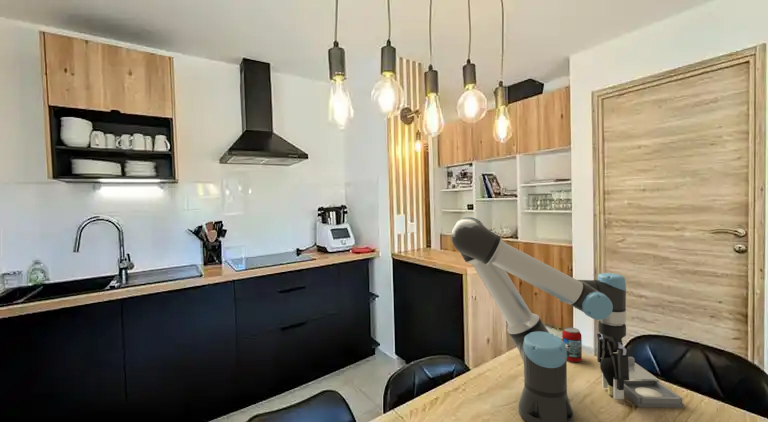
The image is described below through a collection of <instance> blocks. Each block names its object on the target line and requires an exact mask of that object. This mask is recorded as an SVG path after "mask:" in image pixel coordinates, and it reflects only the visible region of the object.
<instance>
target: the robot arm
mask: <svg viewBox="0 0 768 422" xmlns="http://www.w3.org/2000/svg"><path fill="white" fill-rule="evenodd" d="M450 237H451V239H450V240H451V242H452V245H453V247H454V248H455V250H457V252H459V253H460V255H461V256H462V258H463V260H464V262H465V263H467V264H471V265H472V266H473V268H474V269H475V271H476V273H477V275H478V277H479V278H480V279H481V281H482V283H483V285H484V286H485V288H486V290H487V291H488V293H489V295H490V297H491V298H492V299H493V302H494V303H495V304H496V306H497V308H498V309H499V311H500V313H501V315H502V316H503V317H504V319H505V322H507V325H508V326H507V330H506V331H507V333H508V335H509V336H510V338H511V341H513V343H514V345H515V346H516V348H517V350H518V352H519V355H520V356H521V357H520V358H521V360H522V362H523V377H524V378H523V379H524V380H523V383H524V384H523V385H524V386H523V390H522V393H521V395H520V398H519V401H518V413H519V416H520V417H521V418H522V420H524V421H525V422H575V413H574V411H573V410H574V409H573V408H572V405H571V402H570V399H569V396H568V376H567V375H568V374H567V373H568V372H567V371H568V370H567V369H568V368H567V367H568V366H567V351H566V346H565V343H564V342H563V340H562V338H561V337H559V335H554V334H553V333H550V331H549V330H548V328H547V327H546V326H545V324H544V322H543V321H542V319H541V317H540V316H539V315H538V314H537V313H533V312H532V311H531V310H530V309H529V307H528V305H527V304H526V302H525V300H524V298H523V296H522V295H521V294H520V292H519V290H518V289H517V287H516V285H515V283H514V282H513V281H512V279H511V277H510V275H513V276H514V277H516V278H518V279H520V280H522V281H524V282H526V283H528V284H529V285H531V286H533V287H535V288H538V289H539V290H540V291H544V293H547V294H549V295H551V296H553V297H554V298H556V299H558V300H559V301H560V302H561V303H566V304H567V305H569V306H572V307H573V308H575V309H577V310H578V311H580V312H582V313H583V314H585V316H587V317H589V318H591V319H593V320H597V321H598V322H597V323H598V326H597V327H598V333H596V336H597V363H599V365H600V364H601V361H602V360H603V359H604V358H608V357H610V358H611V357H612V361H613V367H614V373H615V377H613V395H614V396H613V399H614V400H625V395H624V380H629V365H628V357H629V354H630V349H629V348H628V347H627V348H626V347H624V346H623V345H624V344H623V338H625V337H626V336H627V325H626V323H627V319H626V318H627V311H626V310H627V307H626V304H627V303H626V302H627V301H626V300H627V285H626V284H627V283H626V278H625V276H623V275H622V274H620V273H619V274H618V273H614V272H613V273H612V272H604V273H603V272H602V273H598V276H597V278H596V279H577V278H576V279H575V278H574V277H572V276H570V275H567V274H566V273H564V272H562V271H560V270H559V269H557V268H555V267H553V266H550V265H548V264H546V262H543V261H542V260H539V259H537V258H536V257H534V256H531V255H529V254H527V253H526V252H524V251H521V250H520V249H517V247H516V248H515V247H514V246H512V245H510V244H508V243H506V242H505V241H504V240H503V238H502V236H500V235H497V234H496V233H494V232H493V231H491V230H490V229H488V228H487V227H486V226H485V225H484V224H483V222H481V221H480V220H479V219H477V218H475V217H470V216H468V217H466V216H465V217H463V218H460V219H459V220H458V221H456V222H455V223H454V224H453V226H452V228H451V236H450ZM508 273H509V274H510V275H509V274H508ZM601 387H602V388H603V389H608V382H607V380H606V379H605V377H604V375H603V373H602V372H601Z"/></svg>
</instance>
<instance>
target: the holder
mask: <svg viewBox="0 0 768 422" xmlns="http://www.w3.org/2000/svg"><path fill="white" fill-rule="evenodd" d="M624 396H626V398H628V400H630V401H631V402H632V403H633V404H634V405H635V406H637V407H638V408H672V409H673V408H679V409H680V408H681V409H683V408H684V402H683V397H681V396H680V395H679V394H677V393H676V392H675V391H673V390H672V389H670V388H669V387H667V386H666V385H665V384H664V383H662V382H661V381H660V380H659V381H624Z"/></svg>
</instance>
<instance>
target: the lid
mask: <svg viewBox="0 0 768 422" xmlns="http://www.w3.org/2000/svg"><path fill="white" fill-rule="evenodd" d="M611 358H612V357H611ZM628 365H629V380H624V381H659V382H660V380H659V378H657V377H656V376H655V375H653V374H652V373H651V372H649V371H648V370H647V369H645V368H643V367H642V366H641V365H639V364H638V363H636V362H635V358H634V357H633V356H628Z"/></svg>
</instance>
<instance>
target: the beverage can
mask: <svg viewBox="0 0 768 422" xmlns="http://www.w3.org/2000/svg"><path fill="white" fill-rule="evenodd" d="M561 339H562V340H563V342H564V343H565V346H566V351H567V361H568V362H571V363H578V362H581V361H582V358H583V356H582V354H583V353H582V350H583V347H582V346H583V344H582V342H583V340H582V333H581V332H580V330H579V329H578V328H576V327H571V326H569V327H568V326H567V327H564V329H563V330H562V333H561Z"/></svg>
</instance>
